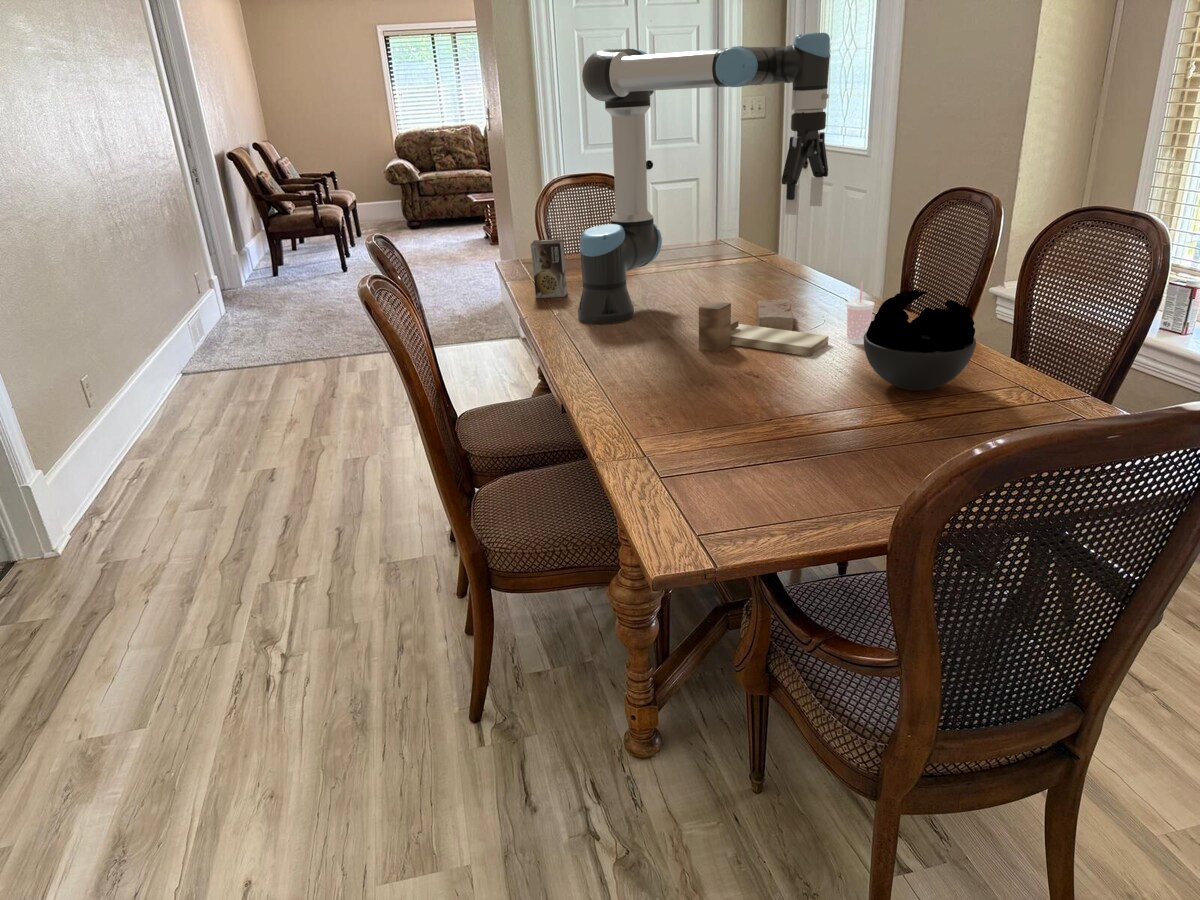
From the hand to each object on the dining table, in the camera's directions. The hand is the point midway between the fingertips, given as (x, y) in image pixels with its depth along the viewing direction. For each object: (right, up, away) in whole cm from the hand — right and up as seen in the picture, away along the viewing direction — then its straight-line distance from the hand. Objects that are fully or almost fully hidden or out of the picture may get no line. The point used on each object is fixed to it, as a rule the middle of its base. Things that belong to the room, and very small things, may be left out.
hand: (803, 210), depth 186 cm
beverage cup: (+12, -31, -2) cm, 33 cm away
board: (-8, -31, +1) cm, 32 cm away
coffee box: (-62, -9, +56) cm, 84 cm away
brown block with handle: (-19, -31, +3) cm, 36 cm away
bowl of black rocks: (+14, -44, -30) cm, 55 cm away
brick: (-4, -25, +15) cm, 29 cm away
